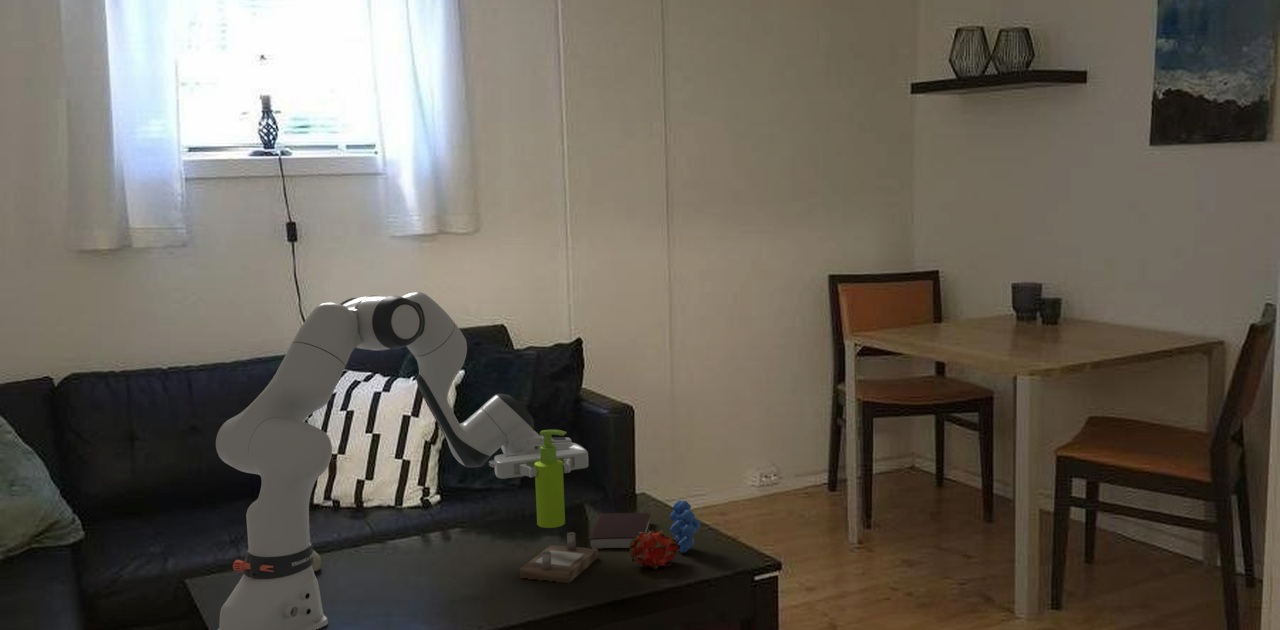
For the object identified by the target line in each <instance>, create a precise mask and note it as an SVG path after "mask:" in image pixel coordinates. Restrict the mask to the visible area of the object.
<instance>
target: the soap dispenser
mask: <svg viewBox="0 0 1280 630" xmlns="http://www.w3.org/2000/svg"><path fill="white" fill-rule="evenodd" d="M566 434H567V431H564V430H561V429H543V430H541V431H540V432H539V435H540V436H541V435H542V436H543V438H544V444H543V445H542V446H540V461H537V462H536V463H535V468H536V469H537V472H536V473H537V477H534V480H535V481H534V483H535V502H536V503H535V504H536V506H535V508H536V525H537V526H538V527H539V528H544V529H545V528H546V529H550V528H551V529H554V528H559V527H563V525H565V524H566V513H565V512H566V511H565V510H566V509H565V487H564V485H565V484H564V473H563V462H562V461H560V460H557V457H556V446H555V445H553V444H552V437H553V436H552V435H555V436H560V437H561V436H562V437H564V436H565V435H566Z"/></svg>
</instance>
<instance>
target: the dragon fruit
mask: <svg viewBox="0 0 1280 630" xmlns="http://www.w3.org/2000/svg"><path fill="white" fill-rule="evenodd" d="M638 534H640V536H635V537H634V540H632V541H631V543H630V548H631V549H628V552H629V554H630V556H631V557H632V559H631V561H632V563H634V564H635V565H636V564H640V563H641V567H642V568H644V567H645V569H646V568H647V567H650V568H652V569H654V570H656V569H658V567H662V566H663V567H667V568H668V567H670V566H671V565H672V564H673V561H671V560H674V558H675V557H676V556H677V554H678V553H679V552H680V551H679V550H680V546H681V545H678V543H679V542H678V541H677V540H676V539H674V537H672V536H668V535H665V533H664V530H659V531H658V532H654V529H651V530H648V532H647V533H643V532H639V533H638Z"/></svg>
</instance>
